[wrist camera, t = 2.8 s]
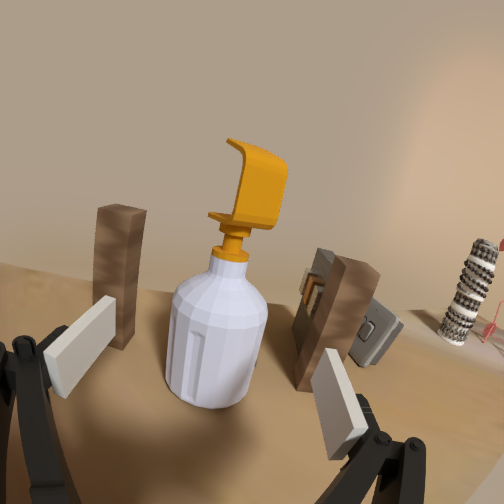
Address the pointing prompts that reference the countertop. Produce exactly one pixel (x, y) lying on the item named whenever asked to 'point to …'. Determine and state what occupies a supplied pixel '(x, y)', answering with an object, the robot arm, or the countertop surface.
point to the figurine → (492, 326)
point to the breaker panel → (311, 294)
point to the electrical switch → (375, 334)
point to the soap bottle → (225, 296)
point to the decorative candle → (469, 292)
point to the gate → (322, 328)
